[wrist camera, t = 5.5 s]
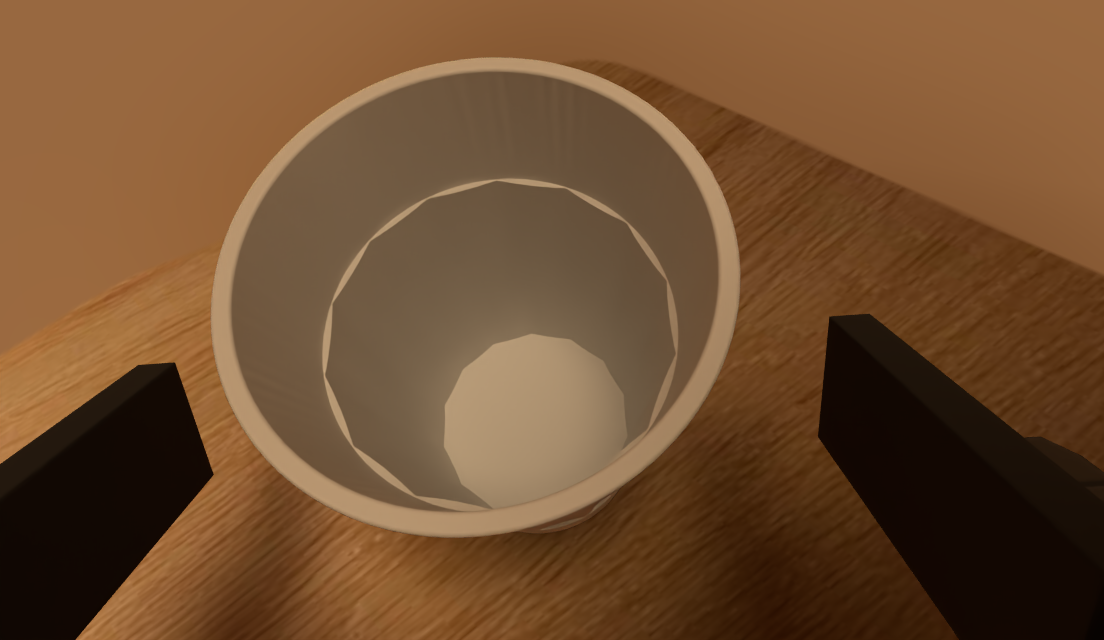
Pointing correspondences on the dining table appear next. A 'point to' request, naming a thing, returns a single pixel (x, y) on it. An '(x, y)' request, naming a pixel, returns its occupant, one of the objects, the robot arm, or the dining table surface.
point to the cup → (476, 298)
